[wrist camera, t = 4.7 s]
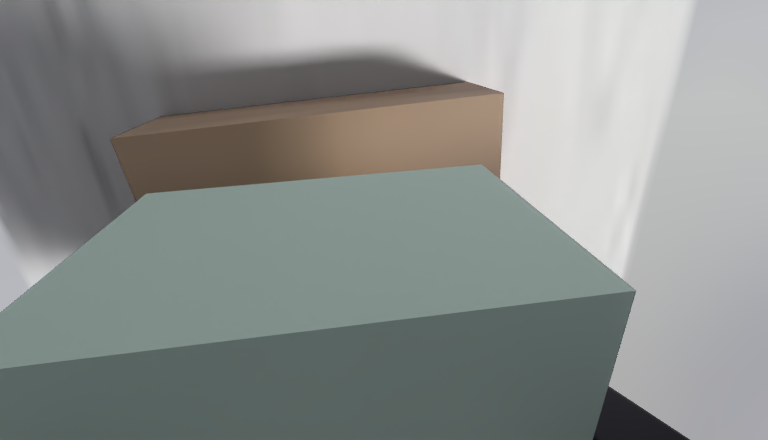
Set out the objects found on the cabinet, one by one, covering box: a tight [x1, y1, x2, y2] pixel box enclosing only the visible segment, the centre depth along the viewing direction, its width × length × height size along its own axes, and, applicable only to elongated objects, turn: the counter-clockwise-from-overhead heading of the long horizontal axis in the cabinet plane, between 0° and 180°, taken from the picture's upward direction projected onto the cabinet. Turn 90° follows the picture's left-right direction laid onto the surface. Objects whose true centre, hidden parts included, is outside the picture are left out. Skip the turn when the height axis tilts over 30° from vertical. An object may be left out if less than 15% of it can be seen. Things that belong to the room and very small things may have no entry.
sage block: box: [0, 164, 636, 440], centre depth 7 cm, size 7×6×4 cm
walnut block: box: [110, 82, 504, 202], centre depth 13 cm, size 8×10×3 cm
